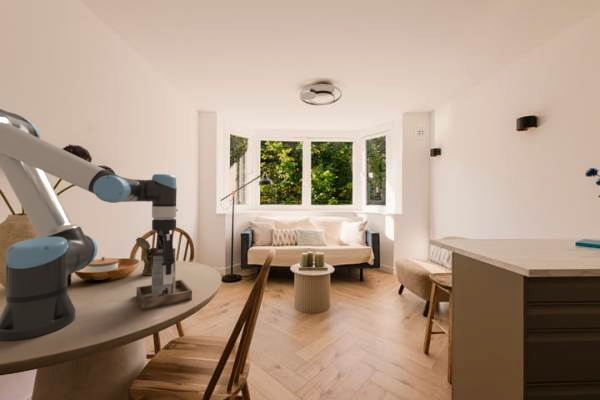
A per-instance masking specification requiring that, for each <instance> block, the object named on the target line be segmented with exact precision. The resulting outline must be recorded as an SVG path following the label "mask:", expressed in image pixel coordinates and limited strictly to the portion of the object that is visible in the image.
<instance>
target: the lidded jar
mask: <svg viewBox="0 0 600 400" xmlns="http://www.w3.org/2000/svg"><path fill="white" fill-rule="evenodd" d="M86 267H87V269H86V270H87V273H88V272H102V271H109V270H113V269H116V268H118V267H119V258H115V257H105V256H101V258H97V259H94V260H93V261H92V262H91V263H90V264H89V265H87V266H86ZM118 269H119V268H118Z"/></svg>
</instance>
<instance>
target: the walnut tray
mask: <svg viewBox="0 0 600 400" xmlns="http://www.w3.org/2000/svg"><path fill="white" fill-rule="evenodd" d="M136 298H137V302H138V305H139V308H140V310H141V311H146V310H151V309H156V308H160V307H164V306H169V305H174V304H179V303H182V302H187V301H192V300H193V290H192V289H191V287H189V285H187V284H186V283H185V282H184V280H183V279H178V280H177V279H175V293H174V294H169V295H164V296H159V297H154V298H152V284H147V285H142V286H137V287H136Z"/></svg>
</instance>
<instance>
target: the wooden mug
mask: <svg viewBox="0 0 600 400" xmlns="http://www.w3.org/2000/svg"><path fill="white" fill-rule="evenodd" d="M135 241H136V244H137V246H138V247H139V248H141V249H142V250H143V251H142V261H143V264H144V266H143V270H142V275H144V276H151V277H152V254H153V253H154V252H155V250H156V247H152V248H151V245H150V243H149V240H146V239H144V238H142V237H137V238H136V239H135Z"/></svg>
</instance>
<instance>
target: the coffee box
mask: <svg viewBox="0 0 600 400" xmlns="http://www.w3.org/2000/svg"><path fill="white" fill-rule="evenodd" d="M173 254H174V263H173V281H172V284H166V285H163V266H162V263H164V259H163V251H162V249H156V250H155V252H154V253H153V254H152V275H151V285H152V298H154V297H159V296H164V295H169V294H174V293H175V281H176V248H174V247H173Z"/></svg>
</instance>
